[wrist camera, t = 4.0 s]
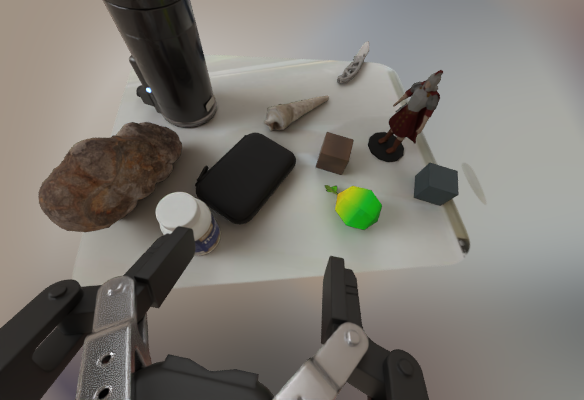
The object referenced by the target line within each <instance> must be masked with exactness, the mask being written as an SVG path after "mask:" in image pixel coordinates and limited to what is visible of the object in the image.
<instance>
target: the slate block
mask: <svg viewBox="0 0 584 400" xmlns="http://www.w3.org/2000/svg"><path fill="white" fill-rule="evenodd" d="M457 173H458V172H457V171H456V170H452V169H449V168H446V167H442V166H439V165H436V164H433V163H429V164H428V165H427V166H426V167H424V168H423V169H422V170H421V171H420V172H419V173H418V174H417V175H416V176H415V188H414V198H417V199H420V200H423V201H427V202H430V203H433V204H436V205H440V206H441V205H442V204H444V203H446V202H447V201H449V200H451V199H452V198H454V197H455V196H457V195H458V174H457Z"/></svg>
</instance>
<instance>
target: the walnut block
mask: <svg viewBox="0 0 584 400" xmlns="http://www.w3.org/2000/svg"><path fill="white" fill-rule="evenodd" d="M353 141H354V140H353V139H349V138H346V137H343V136H339V135H336V134H333V133H329V132H327V133H326V136H325V139H324V142H323V145H322V148H321V151H320V154H319V158H318V161H317V164H316V167H317V168H320V169H323V170H326V171H330V172H333V173H336V174H339V175H341V174H342V173H343V171H344V169H345V167H346V165H347V164H348V162H349V158H350V154H351V149H352V145H353Z"/></svg>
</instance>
